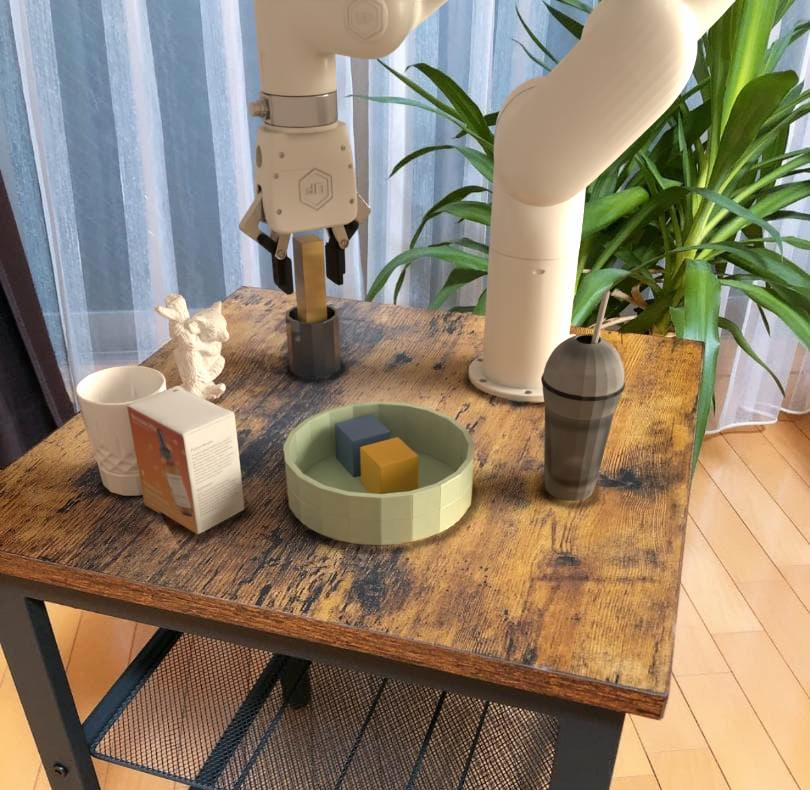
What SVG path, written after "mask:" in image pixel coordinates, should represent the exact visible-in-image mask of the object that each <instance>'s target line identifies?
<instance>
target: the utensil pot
mask: <svg viewBox="0 0 810 790" xmlns="http://www.w3.org/2000/svg"><path fill="white" fill-rule="evenodd" d="M326 305H327V320H325V321H322V322H313V323H310V322H300V321H298V313H297V305H294V306H292V307H290V308H289V309H288V310H286V311H285V329H286V342H287V351H288V352H287V354H288V368H289V370H290V371H291V372H292V373H293V374H294V375H297V376H299V377H303V378H318V377H326V376H329V375H332V374H336V373H337V372H339V371H340V369H341V365H342V362H341V338H340V337H341V335H340V315H339V314H340V313H339V310H338V309H337V308H336V307H335V306H332V305H328V304H326Z"/></svg>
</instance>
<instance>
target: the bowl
mask: <svg viewBox="0 0 810 790" xmlns="http://www.w3.org/2000/svg"><path fill="white" fill-rule="evenodd" d="M371 414H372V415H373V416H374V417H375V418H376V419H377V420H378V421H380V422H381V423H382V424H383V425H384V426H385V427H386V428H387V429H388V430H389V431H390V439H392V438H396V437H398V438H399V439H400V440H402V441H403V442H404V443H405V444H406V445H407V446H408V447H409V448H410V449H412V450H413V451H414V452H415V453H416V454H417V455H418V489H416V490H412V491H406V492H396V493H387V494H372V493H370V492H369V491H368V490H367V489H366V488H365V487H364V486H363V485H362V484H361V476H358V477H353V476H352V475H351V474H350V473H349V472H348V471H347V470H346V469H345V468H344V466H343V465H342V464H341V463H340V462H339V461H338V460H337V459H336V437H335V423H338V422H342V421H346V420H350V419H354V418H358V417H362V416H366V415H371ZM475 451H476V443H475V441H474V440H473V437H472V436H471V433H470V432H469V430H468V429H467V428H466V427H465V426H463V425H462V424H461V423H460V422H458V420H456V419H455V418H454V417H452V416H450V415H447V414H445V413H443V412H441V411H438V410H437V409H434V408H431V407H426V406H422V405H418V404H412V403H410V402H409V403H408V402H399V401H397V402H396V401H383V400H381V401H380V400H379V401H378V400H377V401H365V402H354V403H353V402H352V403H348V404H343V405H340V406H335V407H332V408H327V409H324V410H322V411H320V412H317V413H315V414H313V415H312V416H310V417H307V418H305V419H304V420H302V421H301V422H300V423H299V424H298V425H297V426H295V427H294V428H293V429H292V430H290V432H289V433H288V435H287V437H286V439H285V442H284V444H283V446H282V452H283V464H284V465H283V466H284V475H285V476H284V477H285V486H286V487H285V488H286V495H287V501H288V508H289V509H290V510H291V512H292V513H293V514H294V516H295V517H296V518H297V519H298V521H300V523H302V525H304V526H306V527H307V528H308V529H310V530H312V531H315V532H316V533H318V534H320V535H322V536H325V537H327V538H330V539H333V540H336V541H339V542H344V543H349V544H356V545H366V546H393V545H400V544H407V543H413V542H417V541H420V540H424V539H428V538H430V537H433V536H435V535H438V534H440V533H441V532H444V531H446V530H447V529H449V528H450V527H452V526H453V525H455V524H456V523H458V522H459V521H460V520H461V518H463V516H464V515H465V514H466V512H467V511H468V509H469V508H470V507H471V505H472V499H473V488H474V473H475V472H474V471H475V455H476V452H475Z"/></svg>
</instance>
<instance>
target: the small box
mask: <svg viewBox="0 0 810 790" xmlns="http://www.w3.org/2000/svg"><path fill="white" fill-rule="evenodd" d="M127 409H128V415H129V420H130V426H131V432H132V437H133V443H134V448H135V454H136V459H137V465H138V470H139V476H140V481H141V487H142V492H143V495H142V497H143V502H144V505H145V507H147V508H149V509H151V510H153V511H155V512H156V513H158V514H160V515H162V514H163V515H165V516H166V517H168V518H170V519H171V520H173V521H175V522H176V523H178V524H179V525H181V526H183V527H185V528H187V529H188V530H190V531H192V532H193V533H194V534H196V535H199V534H201V533H204V532H205V531H207V530H209V529H212V528H213V527H215V526H217V525H218V524H220V523H222V522H224V521H226V520H228V519H229V518H231V517H233V516H235V515H237V514H238V513H240V512H242V511H244V510H245V499H244V490H243V482H242V481H243V480H242V470H241V462H240V452H239V443H238V434H237V433H238V432H237V426H236V415H235V412H233V411H232V410H230V409H228V408H226V409H225V408H224V407H221V406H220V405H217V404H215V403H213V402H211V401H209V400H207V399H203V398H201V397H199V396H197V395H195V394H193V393H191V392H189V391H187V390H185V389H184V388H182V387H180V385H174V386H172V387H170V388H166V390H164V391H162V392H159V393H157V394H155V395H152V396H150V397H147V398H145V399H142V400H140V401H137V402H135V403H132V404H130V405H128V406H127Z"/></svg>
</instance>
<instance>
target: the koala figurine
mask: <svg viewBox="0 0 810 790" xmlns="http://www.w3.org/2000/svg"><path fill="white" fill-rule="evenodd" d="M164 304H165V307H163V306H161V305H157V306H155V307H154V311H155V312H156V313H158V314H159V316H162V317H164V318H166V319H167V320H168V324H167V325H168V332H169V333H168V334H169V338H170V339H171V340H172V341H173V342H175V343H178V344H177V345H178V346H177V347H176V348H175V349H174V351H173V357H174V363H175V365H176V367H177V370H178V375H179V378H180V380H181V381H182V383H180V385H179V386H180V387H182V388H184V389H185V390H187V391H189V392H191V393H193V394H195V395H197V396H199V397H201V398H203V399H205V400H207V399H217V398H220V396H222V395H223V394H224V392H225V391H226V389H227V388H226V385H225V383H222V382H221V383H217V384H215V382H214V380H216V378H217V377H218V376H220V375H221V373H222V372H223V370H224V367H225V364H226V360H225V357H224V356H223V355H221V351H222V348H223V345H222V343H225V342H227V341H229V339H230V334H229V332H228V330H227V325H228V323H227V320H226V318H225V317H224V315H223V314H222V307H223V301H221V300H219V301H215V302H213V304H212V305H211V306H210V307H209V308H204V309H201V310H198V311H196V313H194V314H193V316H192V317H191V316H190V312H189V310H188V306H187V303H186V299H185V298H184V296H183V295H181V294H178V293H173V292H171V293H168V294H167V295H166V296H165V298H164Z"/></svg>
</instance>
